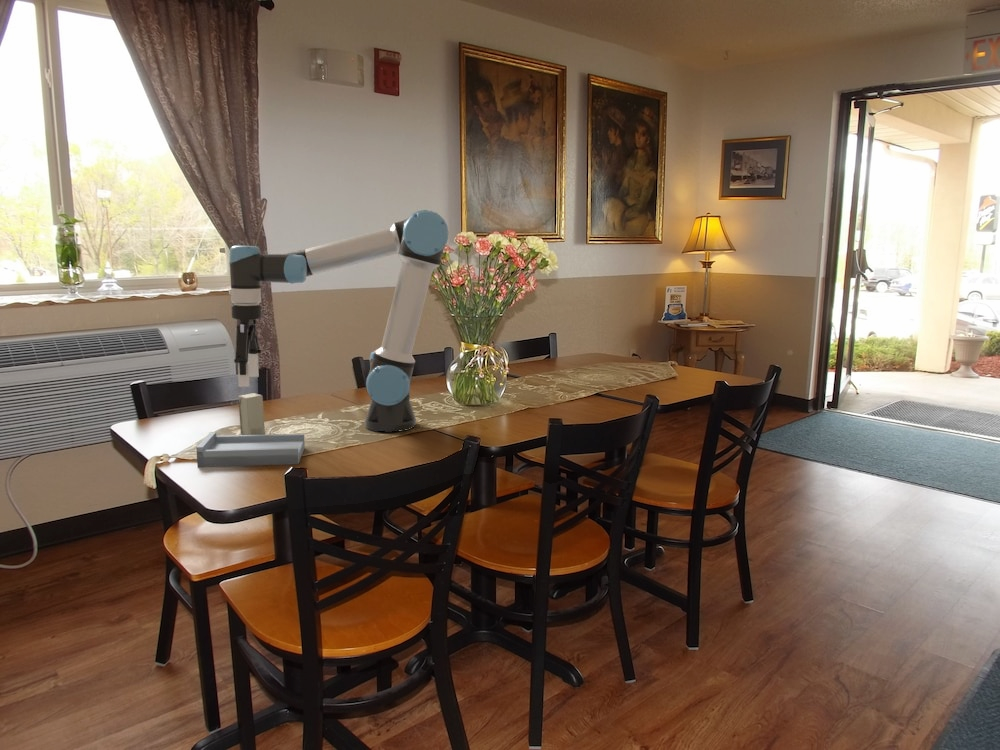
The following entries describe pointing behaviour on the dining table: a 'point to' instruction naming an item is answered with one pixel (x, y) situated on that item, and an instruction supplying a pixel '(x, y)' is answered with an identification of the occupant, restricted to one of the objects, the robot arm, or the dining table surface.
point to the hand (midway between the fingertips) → (249, 381)
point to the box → (251, 414)
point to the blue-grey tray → (250, 450)
